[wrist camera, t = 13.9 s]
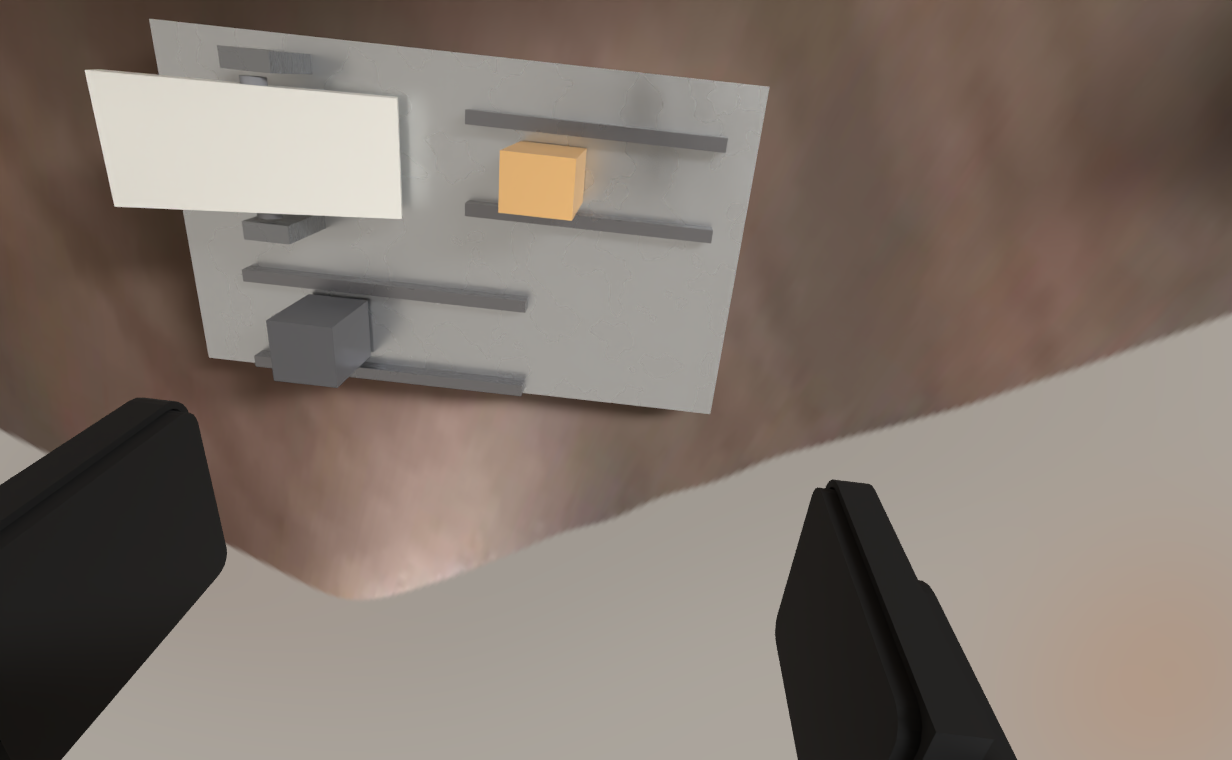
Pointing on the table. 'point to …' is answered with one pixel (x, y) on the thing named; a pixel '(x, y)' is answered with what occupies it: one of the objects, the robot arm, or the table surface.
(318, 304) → the fader knob
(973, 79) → the table surface
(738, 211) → the panel
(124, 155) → the plate
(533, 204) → the orange block
